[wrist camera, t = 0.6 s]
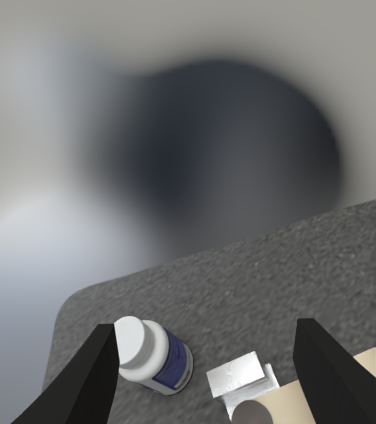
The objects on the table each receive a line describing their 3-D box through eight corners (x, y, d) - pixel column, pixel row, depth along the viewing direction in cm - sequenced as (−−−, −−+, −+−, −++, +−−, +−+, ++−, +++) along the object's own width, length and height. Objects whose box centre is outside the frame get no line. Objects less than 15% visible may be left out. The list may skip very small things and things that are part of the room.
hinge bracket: (302, 441, 25) (292, 434, 22) (244, 464, 26) (226, 460, 23) (269, 363, 29) (258, 349, 26) (220, 385, 30) (203, 373, 27)
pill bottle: (188, 333, 34) (148, 299, 28) (199, 385, 31) (156, 359, 25) (145, 350, 35) (96, 321, 29) (150, 403, 32) (96, 383, 25)
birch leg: (254, 459, 25) (239, 455, 22) (240, 416, 27) (225, 408, 25) (408, 397, 24) (413, 385, 21) (381, 357, 26) (382, 341, 23)
